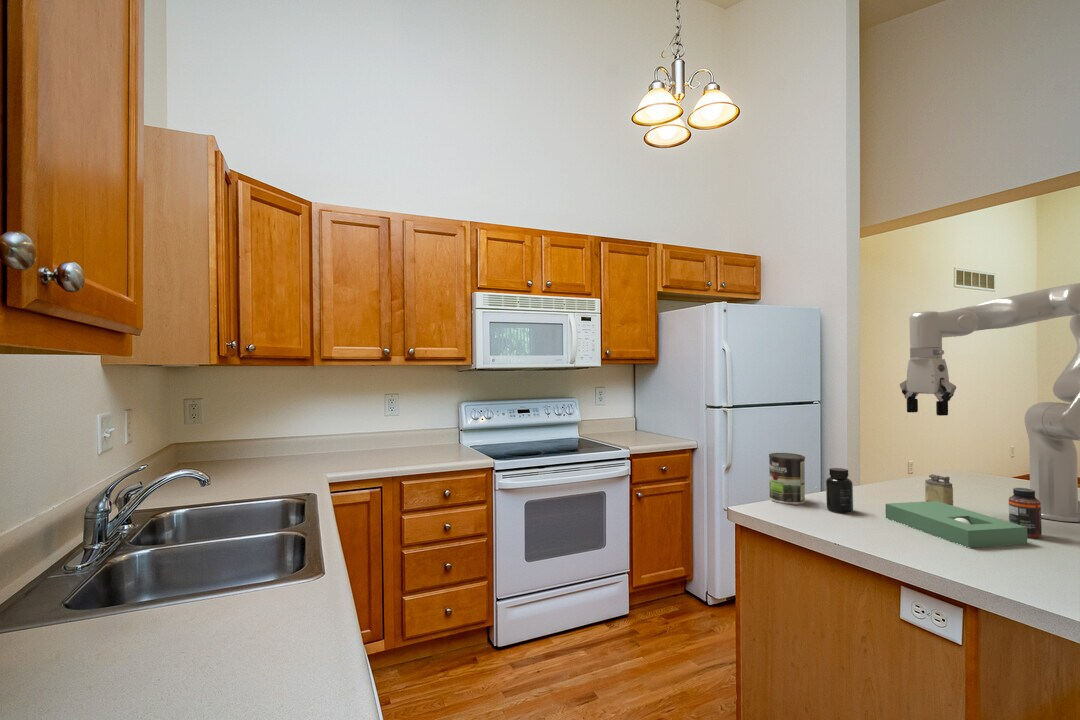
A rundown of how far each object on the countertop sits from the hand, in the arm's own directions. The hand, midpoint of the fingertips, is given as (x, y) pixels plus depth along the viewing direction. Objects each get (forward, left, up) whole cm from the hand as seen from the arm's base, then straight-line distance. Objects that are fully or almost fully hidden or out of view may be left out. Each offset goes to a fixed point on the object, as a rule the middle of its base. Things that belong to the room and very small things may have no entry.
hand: (926, 413), depth 151 cm
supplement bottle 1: (+24, -6, -28) cm, 37 cm away
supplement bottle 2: (-6, +22, -28) cm, 36 cm away
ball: (+10, +19, -26) cm, 34 cm away
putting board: (+9, +15, -28) cm, 33 cm away
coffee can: (+32, -19, -28) cm, 47 cm away
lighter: (-5, -2, -28) cm, 29 cm away
